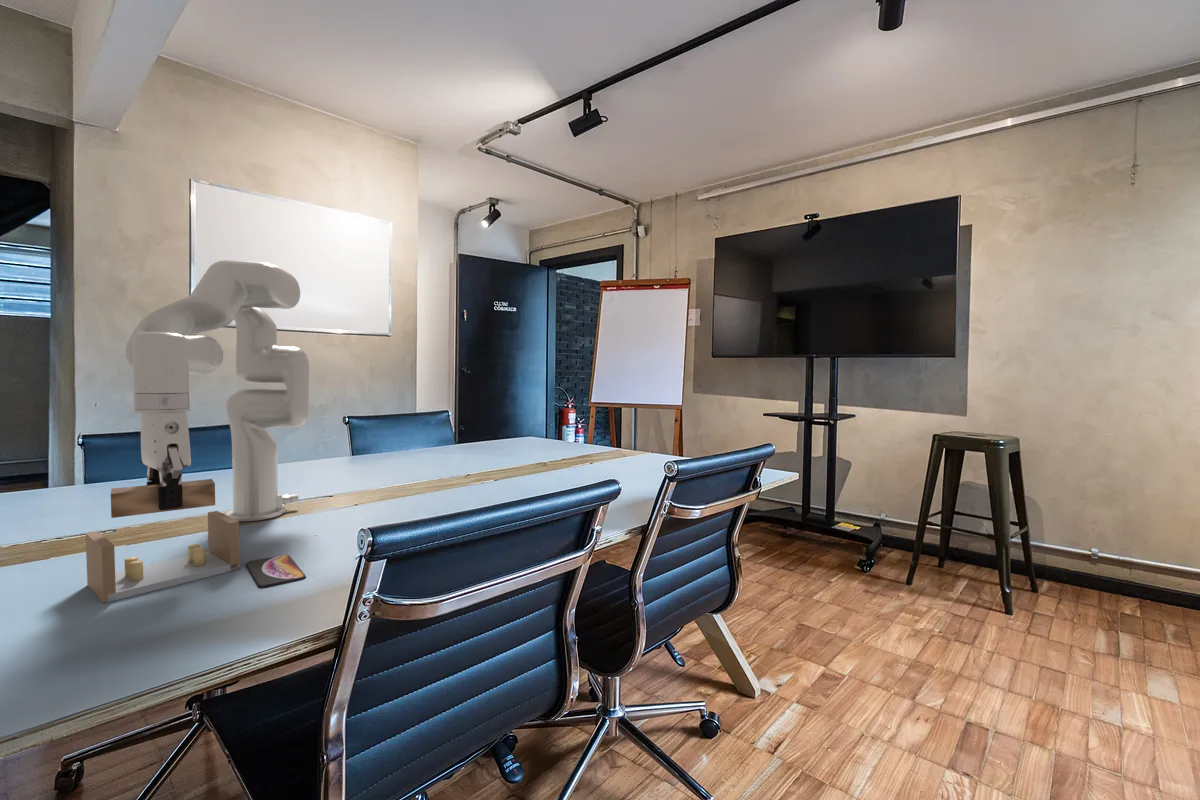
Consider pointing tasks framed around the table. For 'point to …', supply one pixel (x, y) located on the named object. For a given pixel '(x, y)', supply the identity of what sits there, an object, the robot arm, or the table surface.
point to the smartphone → (274, 571)
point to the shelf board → (147, 502)
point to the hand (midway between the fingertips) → (164, 504)
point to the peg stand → (162, 563)
